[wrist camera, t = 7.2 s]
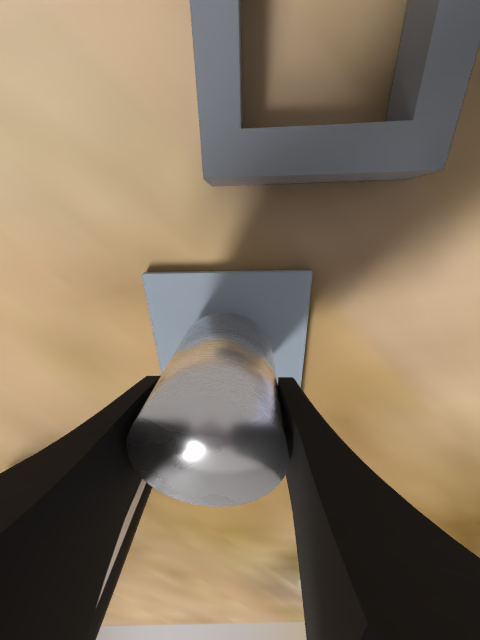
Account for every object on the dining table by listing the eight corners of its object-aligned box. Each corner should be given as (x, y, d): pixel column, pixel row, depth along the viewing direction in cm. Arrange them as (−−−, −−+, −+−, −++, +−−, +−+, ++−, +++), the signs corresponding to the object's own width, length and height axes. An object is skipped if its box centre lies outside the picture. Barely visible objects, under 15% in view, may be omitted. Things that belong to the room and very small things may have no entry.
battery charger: (119, 449, 19) (-53, 745, 8) (161, 468, 19) (52, 762, 9) (92, 490, 21) (-66, 757, 11) (130, 505, 22) (17, 769, 11)
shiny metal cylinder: (276, 314, 11) (299, 402, 6) (268, 392, 13) (280, 511, 8) (178, 310, 11) (111, 392, 6) (185, 387, 14) (140, 501, 8)
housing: (493, -179, 7) (587, -335, 5) (409, 179, 10) (443, 169, 8) (190, -144, 7) (168, -273, 5) (211, 186, 11) (203, 178, 9)
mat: (310, 269, 12) (312, 271, 12) (297, 400, 16) (298, 405, 15) (145, 272, 12) (141, 273, 12) (169, 398, 16) (167, 403, 16)
